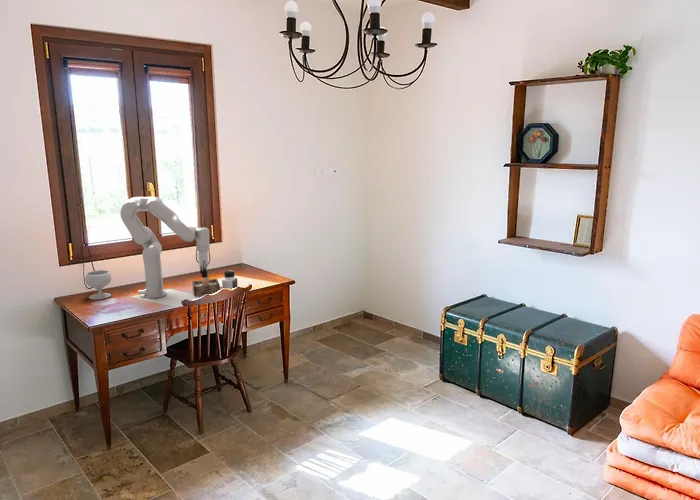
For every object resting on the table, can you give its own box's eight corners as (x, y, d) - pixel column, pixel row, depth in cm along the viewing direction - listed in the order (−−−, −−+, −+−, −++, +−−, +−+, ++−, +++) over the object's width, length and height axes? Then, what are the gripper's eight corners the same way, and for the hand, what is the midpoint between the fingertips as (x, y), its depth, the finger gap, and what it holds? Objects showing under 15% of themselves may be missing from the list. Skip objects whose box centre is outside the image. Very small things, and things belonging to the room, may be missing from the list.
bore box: (194, 296, 303) (193, 287, 302) (192, 290, 316) (192, 281, 315) (220, 293, 308) (219, 284, 307) (217, 287, 321) (216, 278, 320)
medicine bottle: (233, 291, 313) (232, 272, 310) (222, 291, 314) (221, 272, 312) (237, 288, 320) (236, 270, 317) (227, 287, 321) (226, 269, 319)
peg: (203, 293, 310) (202, 274, 307) (202, 291, 313) (201, 272, 311) (210, 292, 311) (208, 273, 308) (209, 290, 315) (208, 272, 312)
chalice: (93, 302, 293) (90, 277, 290) (83, 297, 302) (80, 273, 299) (117, 296, 304) (114, 272, 300) (106, 292, 313) (104, 268, 309)
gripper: (195, 245, 313) (196, 272, 316) (197, 251, 297) (198, 279, 300) (208, 244, 315) (208, 271, 319) (211, 250, 300) (211, 278, 303)
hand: (203, 275), depth 310 cm, fingers open, 9 cm apart
